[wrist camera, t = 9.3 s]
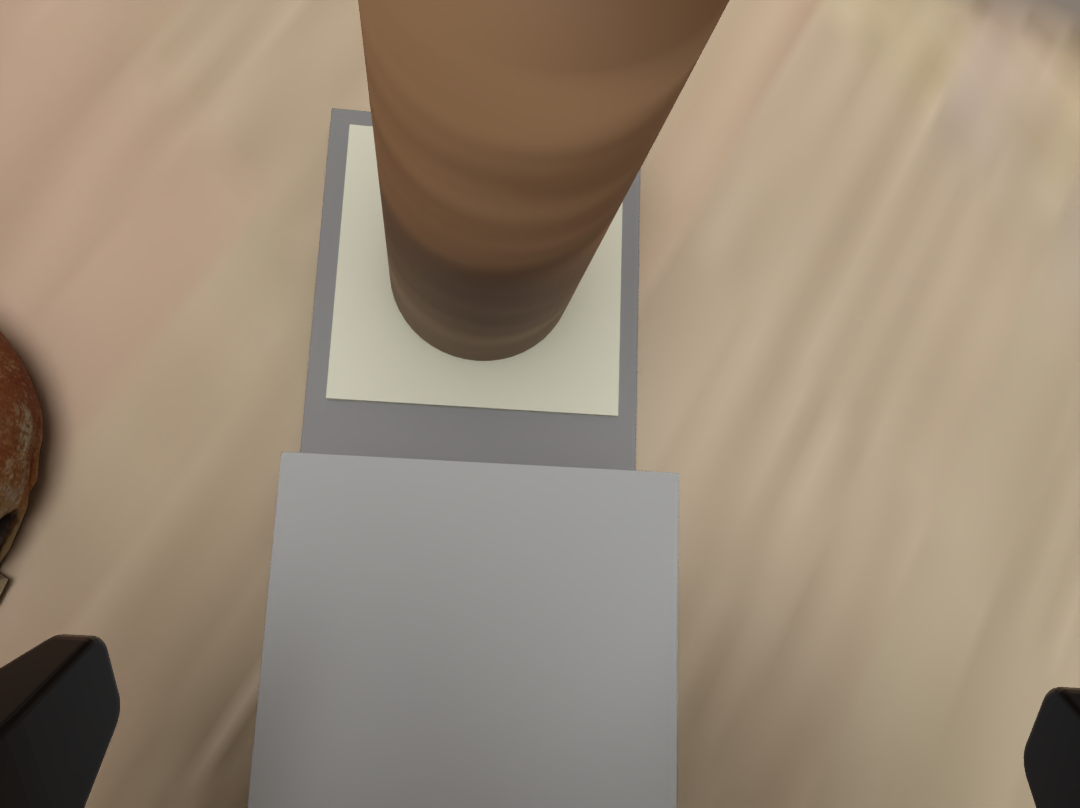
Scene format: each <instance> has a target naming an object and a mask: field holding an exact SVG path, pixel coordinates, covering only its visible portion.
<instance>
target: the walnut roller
mask: <svg viewBox="0 0 1080 808" xmlns="http://www.w3.org/2000/svg"><path fill="white" fill-rule="evenodd" d="M358 2H359V11H360V20H361V28H362V37H363V46H364V55H365V64H366V72H367V81H368V90H369V99H370V107H371V116H372V125H373V134H374V143H375V151H376V160H377V169H378V178H379V186H380V195H381V204H382V213H383V221H384V230H385V239H386V248H387V257H388V265H389V274H390V282H391V289H392V292H393V296H394V299H395V302H396V304H397V306H398V309H399V311H400V312H401V314H402V316H403V318H404V319H405V321H406V322H407V323H408V324H409V326H410V327H411V328H412V330H413V331H414V332H416V333H417V334H418V335H419V336H420V337H421V338H422V339H423V340H425V341H426V342H427V343H429V344H430V345H431V346H433V347H435V348H437V349H438V350H440V351H442V352H444V353H447V354H449V355H452V356H455V357H459V358H462V359H467V360H475V361H492V360H501V359H505V358H509V357H513V356H515V355H518V354H520V353H523V352H525V351H527V350H528V349H530V348H532V347H534V346H535V345H536V344H538V343H539V342H540V341H542V340H543V339H544V338H545V337H546V336H547V335H548V334H549V333H550V332H551V331H552V330H553V329H554V327H555V326H556V325H557V323H558V322H559V320H560V318H561V317H562V315H563V313H564V311H565V309H566V307H567V306H568V304H569V302H570V300H571V298H572V296H573V294H574V292H575V290H576V289H577V287H578V285H579V283H580V281H581V279H582V277H583V275H584V274H585V272H586V270H587V268H588V266H589V264H590V262H591V260H592V258H593V257H594V255H595V253H596V251H597V249H598V247H599V245H600V243H601V241H602V240H603V238H604V236H605V234H606V232H607V230H608V228H609V226H610V224H611V223H612V221H613V219H614V217H615V215H616V213H617V211H618V209H619V208H620V206H621V204H622V202H623V200H624V198H625V196H626V194H627V192H628V191H629V189H630V187H631V185H632V183H633V181H634V179H635V177H636V175H637V174H638V172H639V170H640V168H641V166H642V164H643V162H644V160H645V158H646V157H647V155H648V153H649V151H650V149H651V147H652V145H653V143H654V142H655V140H656V138H657V136H658V134H659V132H660V130H661V128H662V126H663V125H664V123H665V121H666V119H667V117H668V115H669V113H670V111H671V109H672V108H673V106H674V104H675V102H676V100H677V98H678V96H679V94H680V92H681V91H682V89H683V87H684V85H685V83H686V81H687V79H688V77H689V76H690V74H691V72H692V70H693V68H694V66H695V64H696V62H697V60H698V59H699V57H700V55H701V53H702V51H703V49H704V47H705V45H706V43H707V42H708V40H709V38H710V36H711V34H712V32H713V30H714V28H715V26H716V25H717V23H718V21H719V19H720V17H721V15H722V13H723V11H724V10H725V8H726V6H727V4H728V2H729V0H358Z"/></svg>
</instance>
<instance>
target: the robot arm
mask: <svg viewBox="0 0 1080 808" xmlns="http://www.w3.org/2000/svg"><path fill="white" fill-rule="evenodd" d="M119 712H120V698H119V693H118V689H117V685H116V681H115V677H114V673H113V670H112V666H111V662H110V658H109V654H108V650H107V647H106V645H105V643H104V642H103V641H102V640H101V639H100V638H98V637H96V636H87V635H67V634H63V635H57V636H54V637H52V638H50V639H48V640H46V641H44V642H43V643H41V644H39V645H38V646H36V647H35V648H33V649H31V650H30V651H28V652H26V653H25V654H23V655H21V656H20V657H18V658H16V659H15V660H13V661H11V662H10V663H8V664H7V665H5V666H3V667H2V668H0V808H84V807H85V804H86V802H87V799H88V797H89V794H90V791H91V789H92V786H93V784H94V781H95V779H96V776H97V773H98V771H99V768H100V766H101V763H102V761H103V758H104V756H105V753H106V750H107V748H108V745H109V743H110V740H111V738H112V735H113V732H114V730H115V727H116V724H117V721H118V717H119ZM1024 767H1025V773H1026V777H1027V780H1028V783H1029V786H1030V790H1031V793H1032V796H1033V799H1034V802H1035V805H1036V808H1080V688H1069V687H1057V688H1053V689H1052V690H1050V691H1049V692H1048V693H1047V694H1046V696H1045V698H1044V700H1043V702H1042V705H1041V708H1040V710H1039V713H1038V715H1037V718H1036V720H1035V723H1034V725H1033V728H1032V731H1031V733H1030V736H1029V738H1028V741H1027V743H1026V746H1025V751H1024Z"/></svg>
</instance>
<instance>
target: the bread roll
mask: <svg viewBox="0 0 1080 808" xmlns="http://www.w3.org/2000/svg"><path fill="white" fill-rule="evenodd" d="M42 424H43V414H42V411H41V407H40V404H39V400H38V397H37V395H36V392H35V389H34V386H33V384H32V382H31V379H30V377H29V374H28V373H27V371H26V369H25V367H24V365H23V363H22V361H21V359H20V357H19V356H18V354H17V353H16V352H15V350H14V349H13V347H12V346H11V344H10V343H9V342H8V340H7V339H6V338H5V337H4V335H3V334H2V333H1V332H0V565H1V561H2V559H3V558H4V557H5V555H6V554H7V552H8V551H9V549H10V547H11V545H12V543H13V540H14V538H15V536H16V533H17V531H18V529H19V526H20V524H21V521H22V519H23V517H24V514H25V512H26V509H27V507H28V497H29V493H30V491H31V489H32V488H33V486H34V484H35V483H36V481H37V479H38V464H39V453H40V448H41V444H42V440H43V425H42ZM7 581H8V579H7V578H6V577H4V576H3V575H1V574H0V595H1V593H2V591H3V589H4V587H5V585H6V583H7Z"/></svg>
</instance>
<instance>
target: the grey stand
mask: <svg viewBox="0 0 1080 808" xmlns="http://www.w3.org/2000/svg"><path fill="white" fill-rule="evenodd" d="M639 224H640V170H639V172H638V174H637V175H636V177H635V179H634V181H633V183H632V185H631V187H630V189H629V191H628V192H627V194H626V196H625V198H624V200H623V202H622V204H621V206H620V208H619V209H618V211H617V213H616V215H615V217H614V219H613V221H612V223H611V224H610V226H609V228H608V230H607V232H606V234H605V236H604V238H603V240H602V241H601V243H600V245H599V247H598V249H597V251H596V253H595V255H594V257H593V258H592V260H591V262H590V264H589V266H588V268H587V270H586V272H585V274H584V275H583V277H582V279H581V281H580V283H579V285H578V287H577V289H576V290H575V292H574V294H573V296H572V298H571V300H570V302H569V304H568V306H567V307H566V309H565V311H564V313H563V315H562V317H561V318H560V320H559V322H558V323H557V325H556V326H555V327H554V329H553V330H552V331H551V332H550V333H549V334H548V335H547V336H546V337H545V338H544V339H543V340H542V341H540V342H539V343H538V344H536V345H535V346H534V347H532V348H530V349H528V350H527V351H525V352H523V353H520V354H518V355H515V356H513V357H509V358H505V359H501V360H492V361H475V360H467V359H462V358H459V357H455V356H452V355H449V354H447V353H444V352H442V351H440V350H438V349H437V348H435V347H433V346H431V345H430V344H429V343H427V342H426V341H425V340H423V339H422V338H421V337H420V336H419V335H418V334H417V333H416V332H414V331H413V330H412V328H411V327H410V326H409V324H408V323H407V322H406V321H405V319H404V318H403V316H402V314H401V312H400V311H399V309H398V306H397V304H396V302H395V299H394V296H393V292H392V289H391V282H390V274H389V265H388V257H387V248H386V239H385V230H384V221H383V213H382V204H381V195H380V186H379V178H378V169H377V160H376V151H375V143H374V134H373V125H372V116H371V112H366V111H356V110H346V109H336V108H332V111H331V122H330V133H329V144H328V155H327V166H326V177H325V188H324V199H323V209H322V220H321V231H320V242H319V253H318V264H317V275H316V286H315V297H314V308H313V319H312V330H311V341H310V352H309V363H308V373H307V384H306V395H305V406H304V417H303V428H302V439H301V450H300V453H293V452H281V462H280V473H279V483H278V493H277V504H276V514H275V525H274V535H273V546H272V556H271V567H270V577H269V588H268V598H267V608H266V619H265V629H264V640H263V650H262V661H261V671H260V682H259V692H258V702H257V713H256V723H255V734H254V744H253V755H252V765H251V776H250V786H249V796H248V807H247V808H676V802H677V652H678V502H679V473H668V472H649V471H635V469H636V408H637V347H638V285H639Z"/></svg>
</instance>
